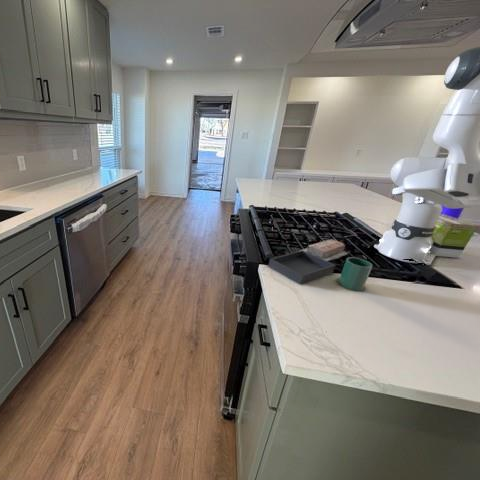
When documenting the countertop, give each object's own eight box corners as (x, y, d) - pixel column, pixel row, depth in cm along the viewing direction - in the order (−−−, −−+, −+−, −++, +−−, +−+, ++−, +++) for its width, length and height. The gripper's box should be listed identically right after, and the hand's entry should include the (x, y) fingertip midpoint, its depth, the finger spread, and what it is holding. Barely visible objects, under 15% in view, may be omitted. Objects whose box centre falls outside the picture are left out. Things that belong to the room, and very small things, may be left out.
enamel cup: (345, 277, 88) (353, 255, 84) (367, 287, 82) (376, 264, 79) (334, 282, 85) (342, 259, 81) (355, 292, 79) (365, 269, 76)
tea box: (405, 241, 119) (420, 211, 113) (427, 243, 118) (444, 213, 112) (434, 256, 105) (453, 222, 99) (459, 258, 104) (480, 225, 98)
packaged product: (327, 236, 110) (351, 244, 102) (323, 246, 112) (347, 255, 104) (301, 243, 102) (325, 253, 94) (298, 253, 104) (322, 264, 96)
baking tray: (300, 256, 101) (302, 250, 100) (333, 272, 91) (335, 265, 90) (268, 265, 94) (269, 258, 92) (300, 284, 83) (302, 276, 82)
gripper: (506, 185, 61) (431, 195, 74) (453, 160, 55) (382, 175, 69) (502, 211, 61) (428, 216, 74) (448, 188, 55) (378, 198, 68)
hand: (405, 196), depth 71 cm, fingers open, 8 cm apart
